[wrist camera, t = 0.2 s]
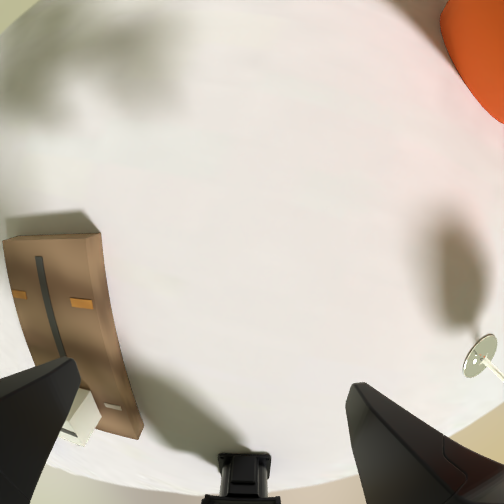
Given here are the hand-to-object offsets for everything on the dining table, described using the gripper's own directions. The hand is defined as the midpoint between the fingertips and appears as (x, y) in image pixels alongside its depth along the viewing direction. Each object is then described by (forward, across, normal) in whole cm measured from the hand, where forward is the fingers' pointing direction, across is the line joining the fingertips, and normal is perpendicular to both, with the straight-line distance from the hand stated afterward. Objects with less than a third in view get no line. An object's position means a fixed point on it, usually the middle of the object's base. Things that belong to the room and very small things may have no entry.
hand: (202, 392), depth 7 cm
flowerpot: (+15, -28, -24) cm, 40 cm away
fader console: (+14, +17, +10) cm, 25 cm away
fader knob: (+12, +17, +16) cm, 26 cm away
